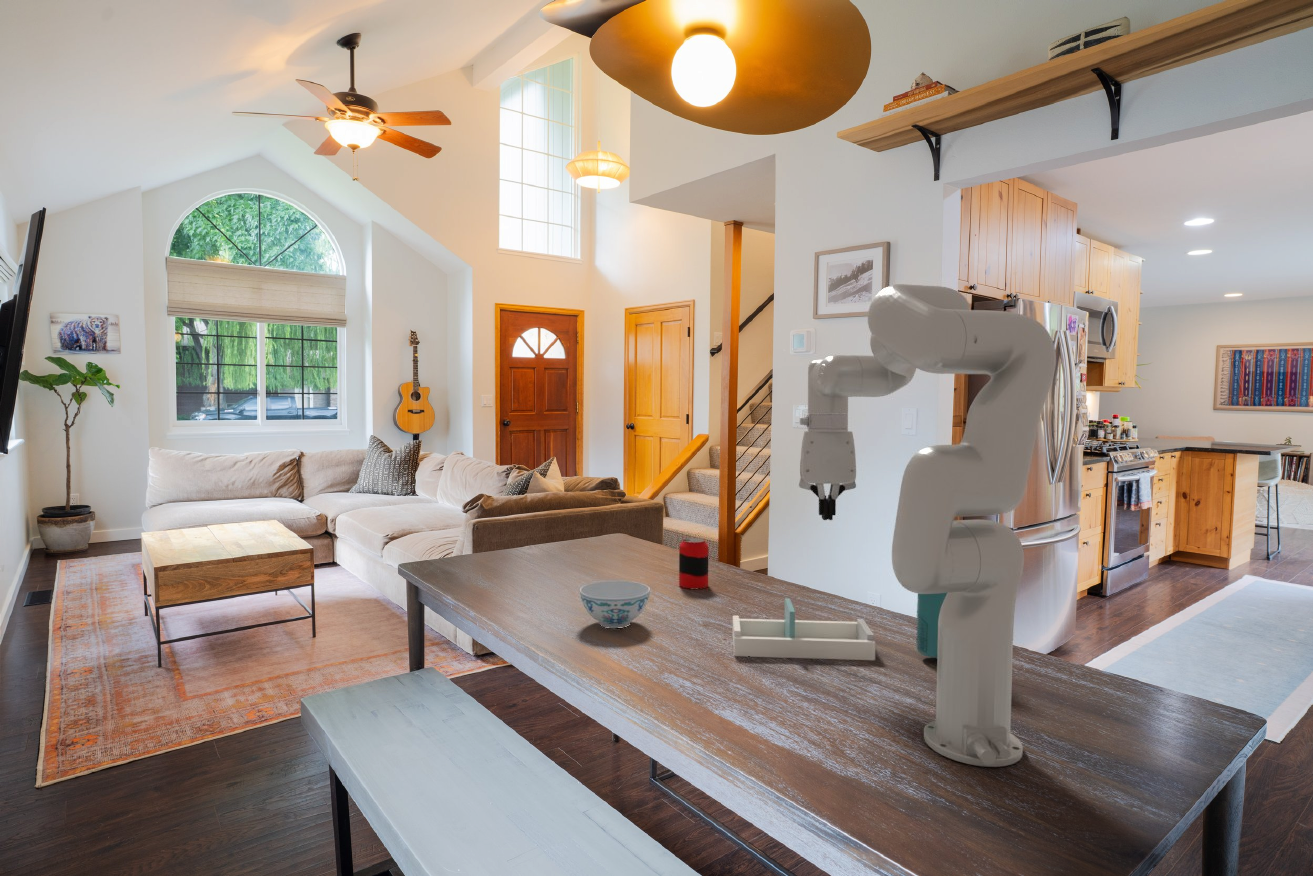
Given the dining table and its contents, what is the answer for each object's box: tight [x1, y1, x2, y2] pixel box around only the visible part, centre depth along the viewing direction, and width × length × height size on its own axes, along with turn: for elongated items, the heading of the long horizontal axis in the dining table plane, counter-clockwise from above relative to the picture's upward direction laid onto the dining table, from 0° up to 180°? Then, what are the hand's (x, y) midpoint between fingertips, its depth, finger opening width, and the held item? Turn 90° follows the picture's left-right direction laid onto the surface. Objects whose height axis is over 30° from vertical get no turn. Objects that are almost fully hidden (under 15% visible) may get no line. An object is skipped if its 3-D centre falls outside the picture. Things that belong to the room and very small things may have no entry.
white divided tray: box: [731, 615, 876, 661], centre depth 140 cm, size 12×26×4 cm, turn 86°
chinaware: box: [579, 579, 651, 628], centre depth 154 cm, size 15×15×8 cm
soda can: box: [678, 537, 709, 589], centre depth 187 cm, size 8×8×12 cm
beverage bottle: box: [915, 593, 947, 659], centre depth 133 cm, size 6×7×20 cm
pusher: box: [784, 597, 796, 638], centre depth 140 cm, size 9×1×8 cm, turn 176°
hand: (827, 519), depth 139 cm, fingers closed
